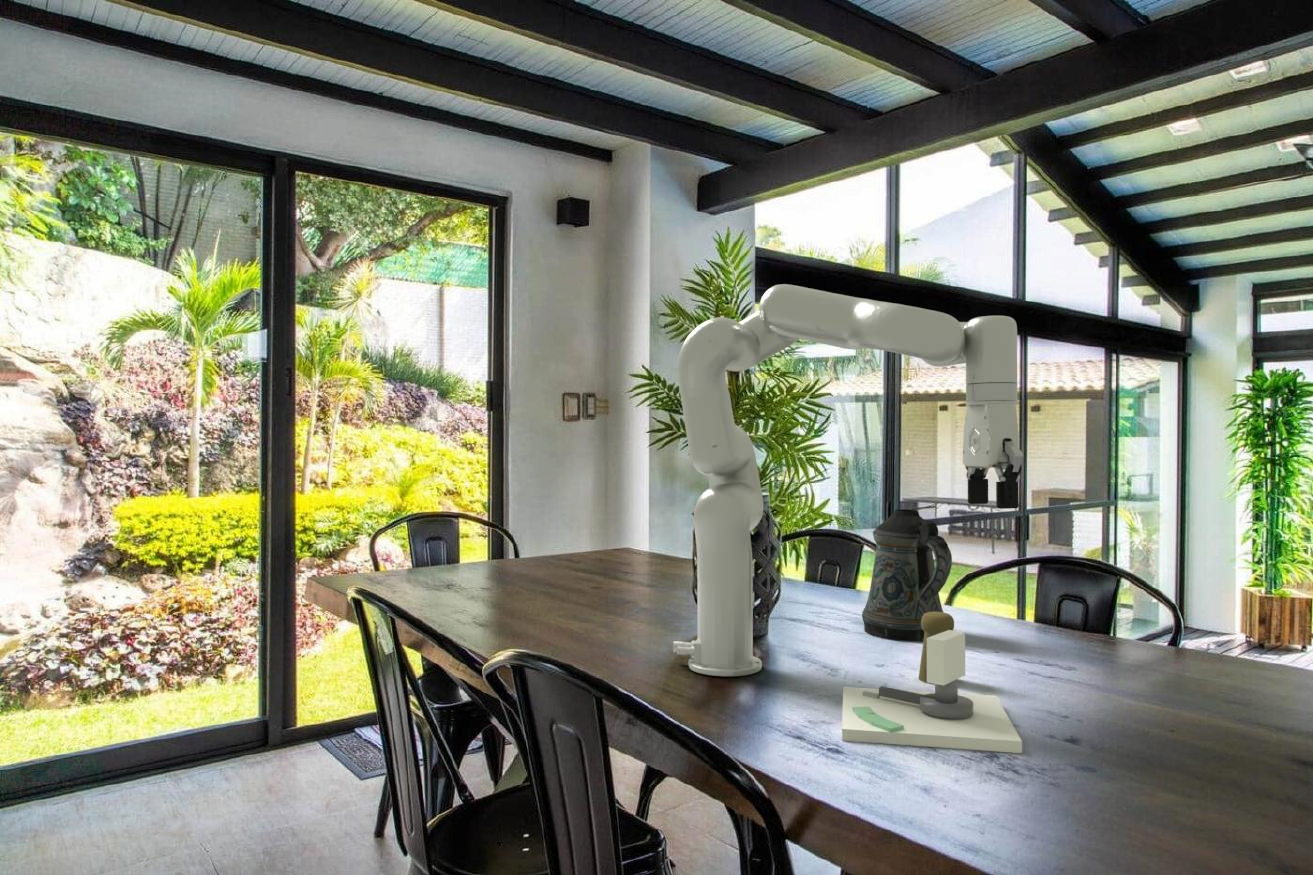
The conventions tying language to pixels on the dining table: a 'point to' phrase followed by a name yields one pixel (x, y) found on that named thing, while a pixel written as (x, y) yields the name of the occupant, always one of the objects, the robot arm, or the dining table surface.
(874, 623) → the beer stein
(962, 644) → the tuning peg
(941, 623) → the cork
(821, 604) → the dining table surface
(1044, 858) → the dining table surface
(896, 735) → the dial board
